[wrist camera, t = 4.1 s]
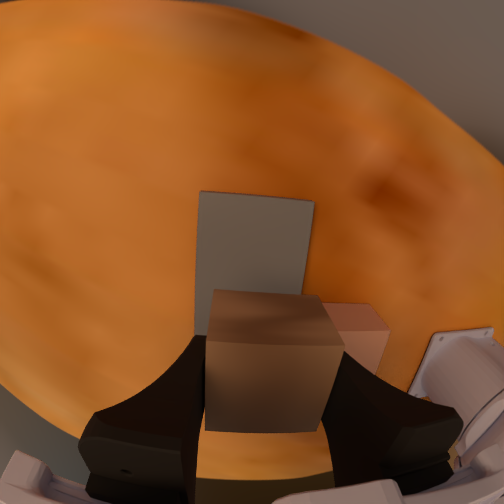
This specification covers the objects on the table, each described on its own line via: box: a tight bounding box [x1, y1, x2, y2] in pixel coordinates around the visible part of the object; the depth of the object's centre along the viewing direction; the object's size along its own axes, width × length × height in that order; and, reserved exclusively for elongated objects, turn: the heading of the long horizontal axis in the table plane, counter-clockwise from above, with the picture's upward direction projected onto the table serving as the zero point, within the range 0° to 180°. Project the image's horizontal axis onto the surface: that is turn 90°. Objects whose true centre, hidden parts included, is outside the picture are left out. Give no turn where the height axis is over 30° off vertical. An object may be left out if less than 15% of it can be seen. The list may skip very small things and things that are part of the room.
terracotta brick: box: [322, 303, 391, 375], centre depth 20 cm, size 5×5×4 cm
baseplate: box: [194, 191, 315, 336], centre depth 20 cm, size 7×12×1 cm, turn 175°
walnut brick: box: [205, 289, 345, 433], centre depth 12 cm, size 5×5×4 cm
